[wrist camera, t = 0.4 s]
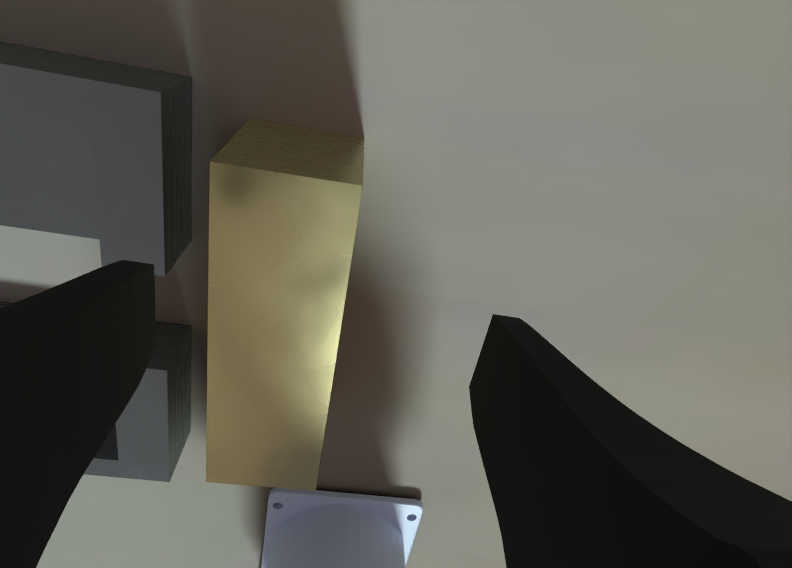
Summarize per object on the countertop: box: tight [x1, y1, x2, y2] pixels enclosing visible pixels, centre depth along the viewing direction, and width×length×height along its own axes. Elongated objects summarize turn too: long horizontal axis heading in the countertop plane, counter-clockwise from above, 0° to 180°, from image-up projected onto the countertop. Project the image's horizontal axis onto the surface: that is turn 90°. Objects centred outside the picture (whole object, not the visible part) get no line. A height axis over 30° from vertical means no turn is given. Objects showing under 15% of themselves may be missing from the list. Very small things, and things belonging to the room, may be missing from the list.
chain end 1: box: [0, 42, 192, 277], centre depth 17 cm, size 6×10×3 cm, turn 79°
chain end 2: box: [0, 302, 191, 482], centre depth 22 cm, size 6×10×3 cm, turn 79°
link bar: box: [206, 119, 364, 491], centre depth 19 cm, size 12×4×6 cm, turn 170°
